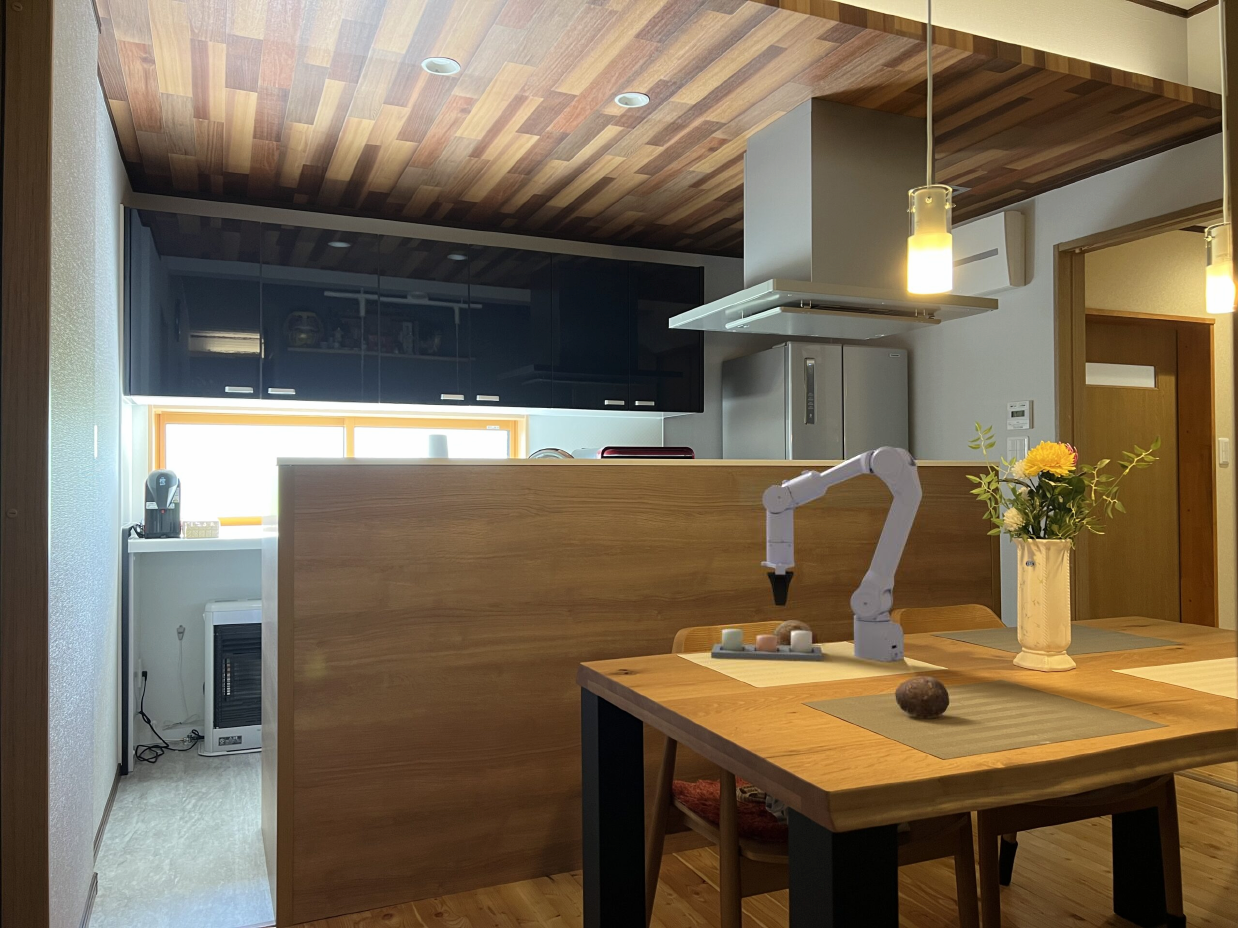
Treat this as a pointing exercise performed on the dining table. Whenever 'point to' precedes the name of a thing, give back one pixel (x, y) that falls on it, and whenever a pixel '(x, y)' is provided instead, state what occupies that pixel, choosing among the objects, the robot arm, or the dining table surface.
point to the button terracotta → (766, 643)
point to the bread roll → (792, 625)
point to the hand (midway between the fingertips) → (780, 605)
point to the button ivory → (801, 641)
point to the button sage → (732, 639)
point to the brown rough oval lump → (922, 697)
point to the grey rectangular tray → (767, 653)
